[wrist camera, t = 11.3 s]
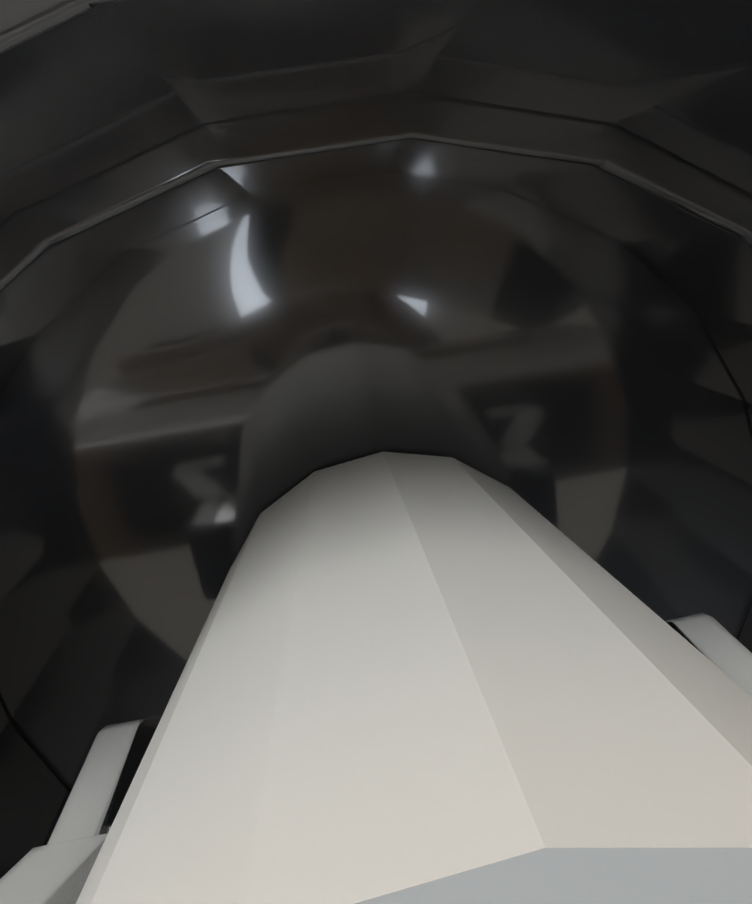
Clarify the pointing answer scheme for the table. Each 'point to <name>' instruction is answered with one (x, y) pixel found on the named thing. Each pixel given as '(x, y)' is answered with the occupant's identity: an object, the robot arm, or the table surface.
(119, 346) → the pan
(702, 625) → the robot arm
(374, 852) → the white cylinder
